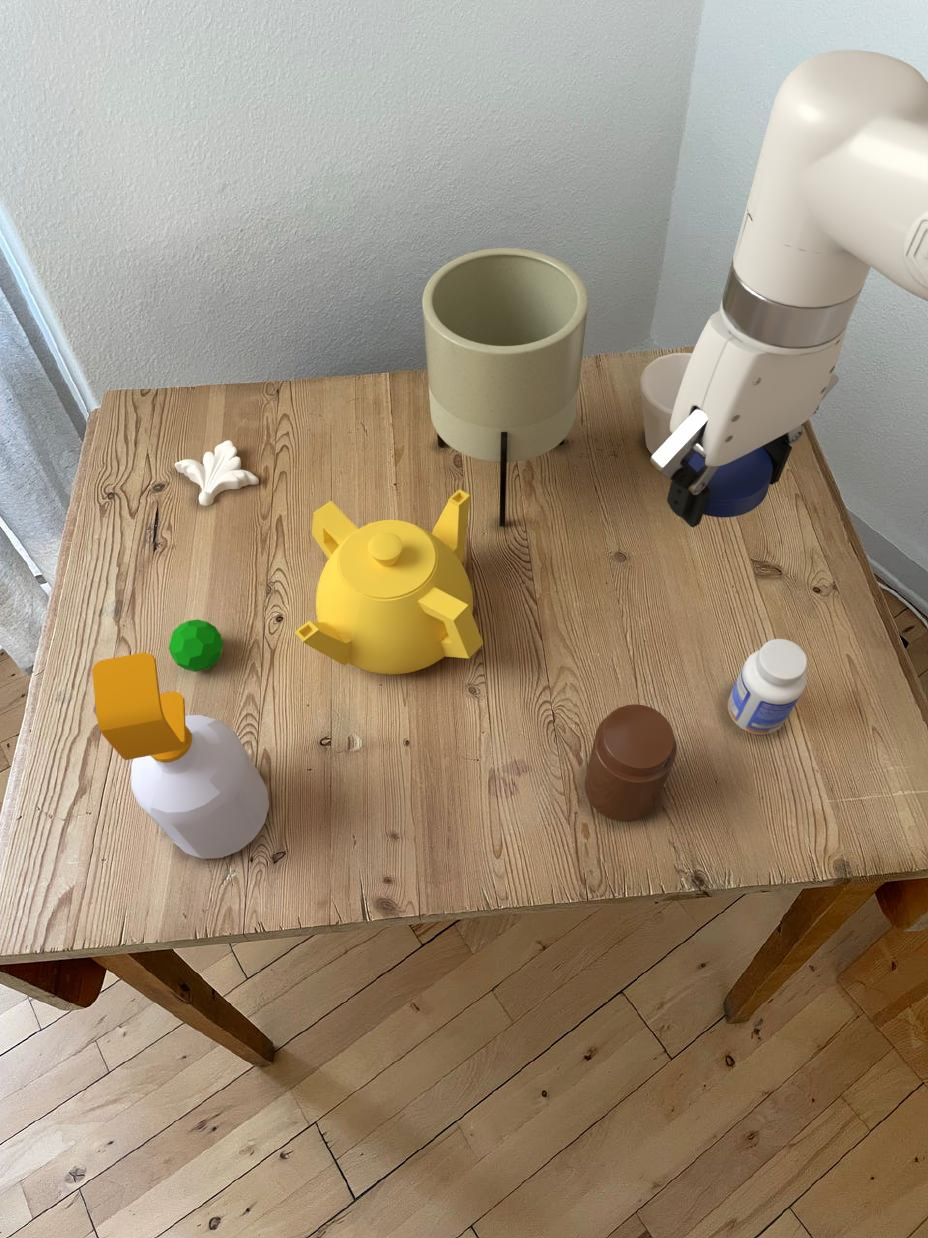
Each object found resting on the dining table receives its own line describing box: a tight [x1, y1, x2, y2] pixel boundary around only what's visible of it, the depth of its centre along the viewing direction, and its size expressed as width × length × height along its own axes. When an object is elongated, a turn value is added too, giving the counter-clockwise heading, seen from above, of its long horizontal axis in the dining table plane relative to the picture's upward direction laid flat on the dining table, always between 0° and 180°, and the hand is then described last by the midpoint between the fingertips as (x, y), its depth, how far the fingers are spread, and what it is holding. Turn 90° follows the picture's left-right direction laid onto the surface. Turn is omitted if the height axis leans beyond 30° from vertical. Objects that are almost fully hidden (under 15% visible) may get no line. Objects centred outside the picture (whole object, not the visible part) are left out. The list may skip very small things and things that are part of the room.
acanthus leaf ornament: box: [174, 440, 260, 507], centre depth 99 cm, size 8×7×2 cm
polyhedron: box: [168, 619, 224, 673], centre depth 84 cm, size 5×5×5 cm
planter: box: [421, 247, 589, 527], centre depth 90 cm, size 15×16×23 cm
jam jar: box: [584, 703, 678, 823], centre depth 74 cm, size 7×7×11 cm
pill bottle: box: [727, 638, 808, 736], centre depth 78 cm, size 5×5×10 cm
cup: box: [638, 352, 693, 456], centre depth 97 cm, size 10×10×9 cm
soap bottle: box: [91, 651, 270, 860], centre depth 67 cm, size 9×9×25 cm
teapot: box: [293, 488, 484, 675], centre depth 84 cm, size 17×17×12 cm
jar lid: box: [688, 446, 773, 518], centre depth 66 cm, size 7×7×2 cm
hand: (722, 491), depth 67 cm, fingers closed on jar lid, 7 cm apart
